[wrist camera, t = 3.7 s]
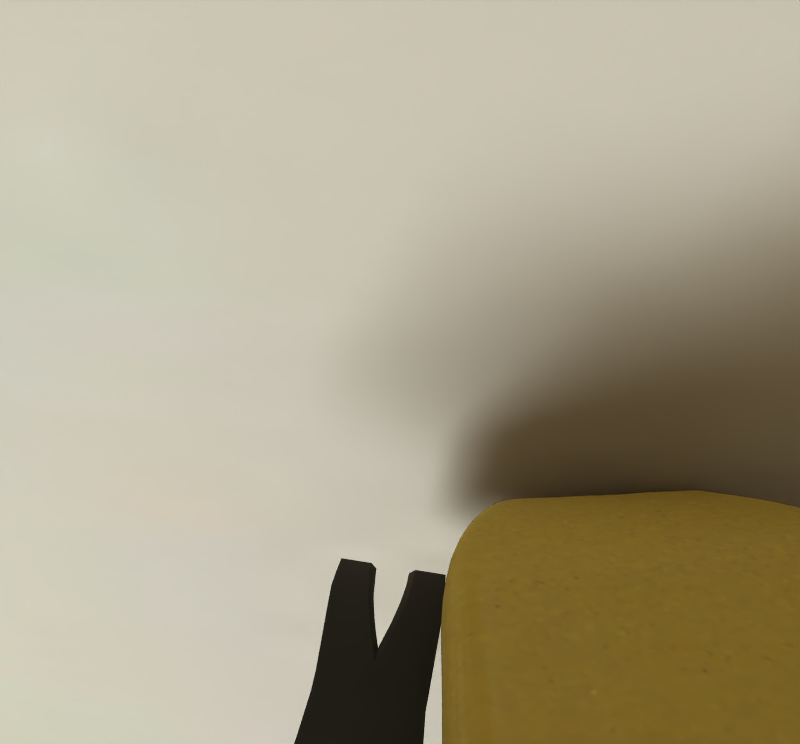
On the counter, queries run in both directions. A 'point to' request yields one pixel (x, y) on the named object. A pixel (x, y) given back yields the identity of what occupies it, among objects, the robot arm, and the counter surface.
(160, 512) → the counter surface
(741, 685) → the flower pot
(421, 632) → the robot arm
